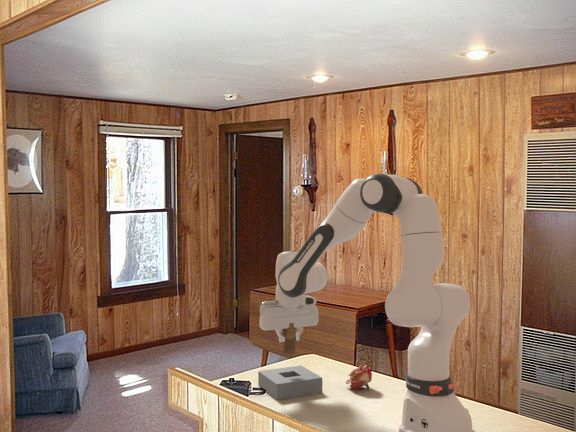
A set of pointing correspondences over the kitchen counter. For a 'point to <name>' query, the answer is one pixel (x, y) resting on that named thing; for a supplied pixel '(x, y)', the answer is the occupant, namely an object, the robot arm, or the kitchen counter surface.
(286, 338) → the peg
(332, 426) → the kitchen counter surface
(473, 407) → the kitchen counter surface
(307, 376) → the socket block
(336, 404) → the kitchen counter surface
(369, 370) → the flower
